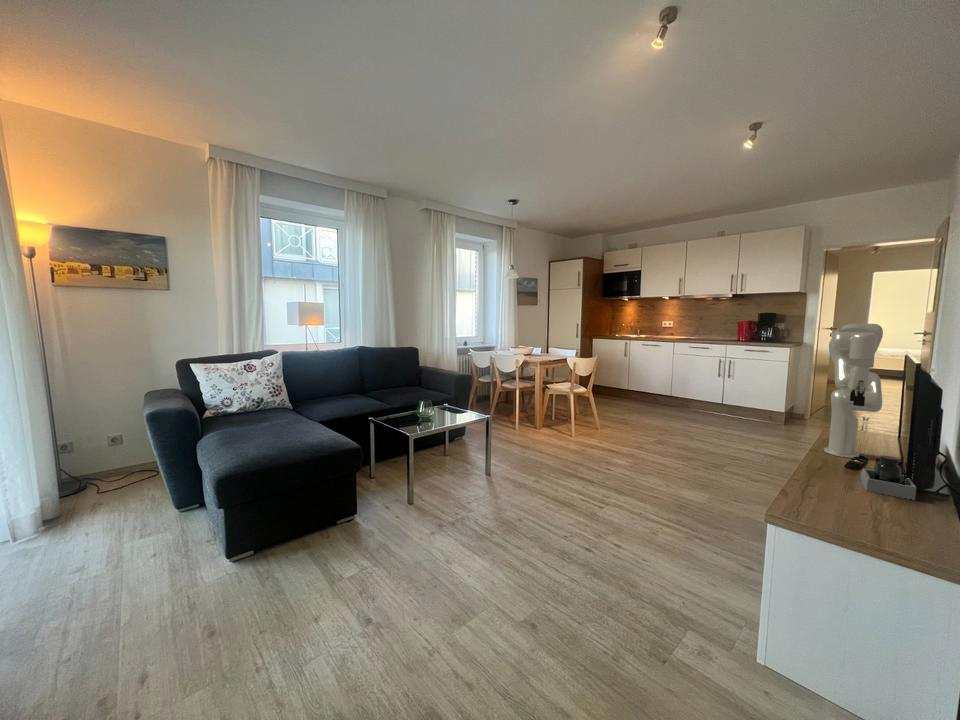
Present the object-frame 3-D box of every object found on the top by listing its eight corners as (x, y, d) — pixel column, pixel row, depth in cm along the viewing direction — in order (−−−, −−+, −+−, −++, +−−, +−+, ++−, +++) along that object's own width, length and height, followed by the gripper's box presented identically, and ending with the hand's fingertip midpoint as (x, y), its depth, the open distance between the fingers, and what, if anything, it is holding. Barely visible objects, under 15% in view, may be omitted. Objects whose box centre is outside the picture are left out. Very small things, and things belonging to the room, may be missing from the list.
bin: (861, 480, 159) (862, 468, 158) (905, 488, 151) (907, 475, 151) (866, 491, 149) (867, 478, 148) (914, 500, 141) (916, 487, 141)
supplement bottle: (904, 491, 147) (908, 461, 145) (886, 491, 147) (889, 461, 145) (886, 483, 154) (889, 454, 152) (868, 483, 154) (871, 454, 152)
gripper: (845, 360, 170) (841, 398, 172) (851, 364, 156) (847, 406, 158) (869, 361, 165) (865, 400, 167) (877, 366, 152) (873, 408, 154)
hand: (856, 403), depth 163 cm, fingers open, 9 cm apart
